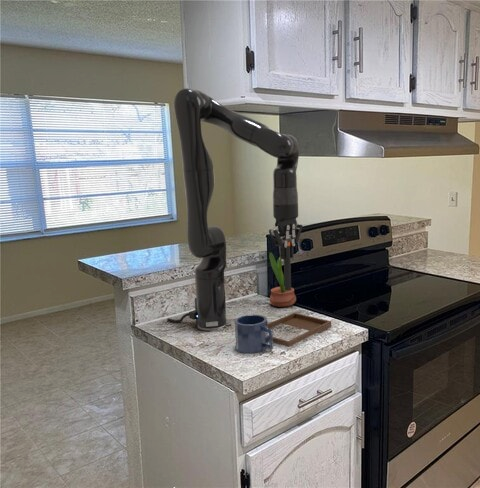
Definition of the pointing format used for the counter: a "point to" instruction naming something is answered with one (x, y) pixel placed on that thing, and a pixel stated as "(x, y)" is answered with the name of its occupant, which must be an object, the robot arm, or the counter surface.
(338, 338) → the counter surface
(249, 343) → the mug
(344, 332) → the counter surface
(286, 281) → the marker
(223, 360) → the counter surface
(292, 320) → the tray
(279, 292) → the potted flower
